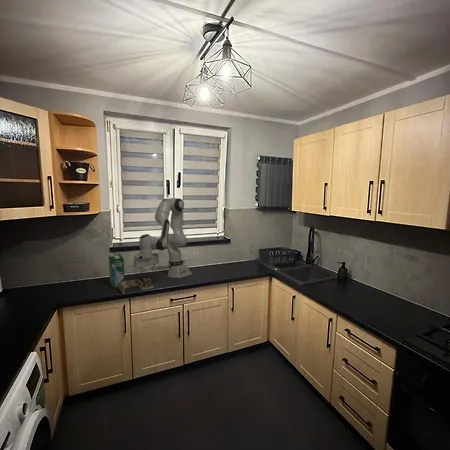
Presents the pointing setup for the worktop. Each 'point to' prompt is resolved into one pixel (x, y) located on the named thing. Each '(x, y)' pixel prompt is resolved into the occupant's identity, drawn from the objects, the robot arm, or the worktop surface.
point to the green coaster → (148, 287)
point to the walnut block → (147, 282)
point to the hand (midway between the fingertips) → (147, 271)
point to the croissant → (130, 285)
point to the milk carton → (116, 270)
